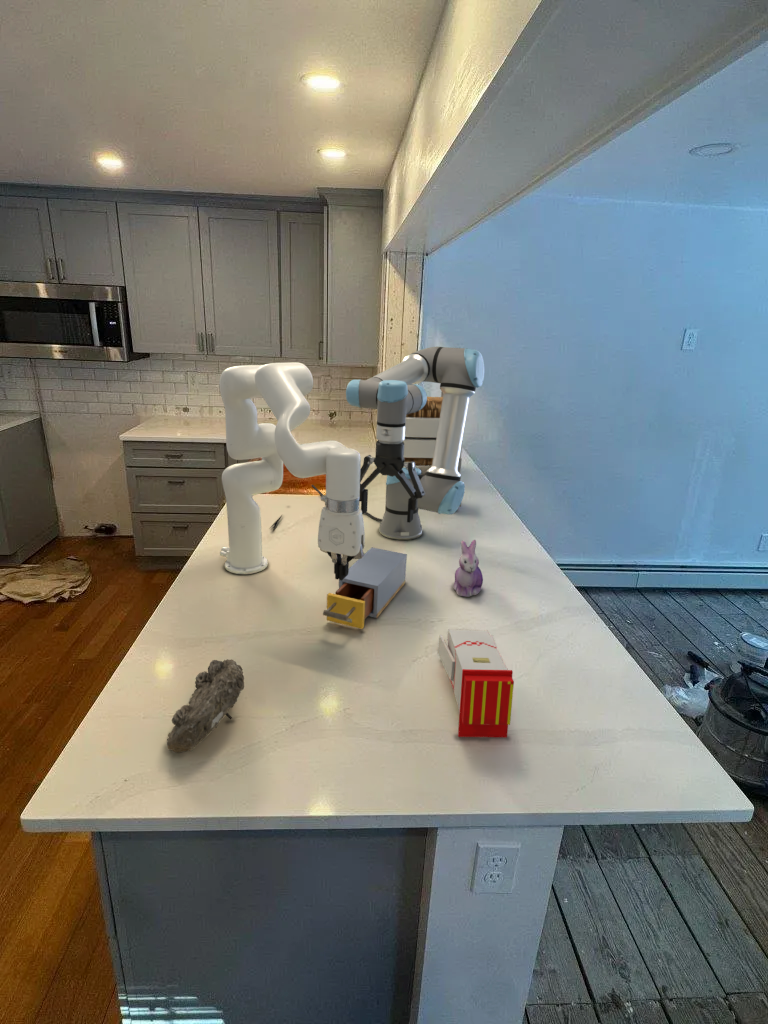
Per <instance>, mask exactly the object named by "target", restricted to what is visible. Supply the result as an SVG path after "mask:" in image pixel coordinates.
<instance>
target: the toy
mask: <svg viewBox="0 0 768 1024" xmlns="http://www.w3.org/2000/svg"><path fill="white" fill-rule="evenodd" d="M446 640H447V643H446V641H445V639H444V636H443V635H442V634H439V637H438V646H437V656H438V657H439V659H440V661H441V663H442V666H443V668H444V670H445V672H446V674H447V677H448V679H449V681H450V684H451V687H452V690H453V693H454V697H455V701H456V705H457V708H458V711H459V714H458V715H459V716H458V730H457V731H458V732H457V737H458V738H508V731H509V726H510V725H511V717H512V707H513V697H514V696H513V695H514V684H515V680H514V679H513V673H514V671H513V670H512V669H508V667H507V665H506V662H505V661H504V659H503V658H502V655H501V653H500V651H499V649H498V647H497V643H496V639H495V637H494V635H493V634H491V632H490V631H489V629H467V628H466V629H465V628H463V629H461V628H460V629H459V628H448V630H447V639H446Z"/></svg>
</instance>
